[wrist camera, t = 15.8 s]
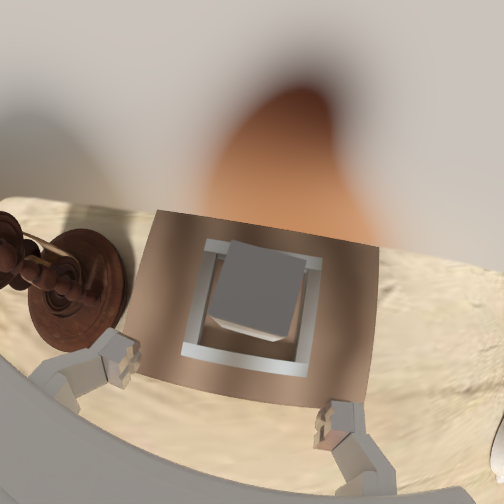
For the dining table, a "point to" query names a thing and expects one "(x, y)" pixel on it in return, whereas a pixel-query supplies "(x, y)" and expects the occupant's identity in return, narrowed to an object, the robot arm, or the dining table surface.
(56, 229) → the dining table surface
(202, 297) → the block
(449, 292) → the dining table surface
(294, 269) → the grey white rectangular block
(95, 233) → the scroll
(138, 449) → the robot arm
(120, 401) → the dining table surface
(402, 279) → the dining table surface
